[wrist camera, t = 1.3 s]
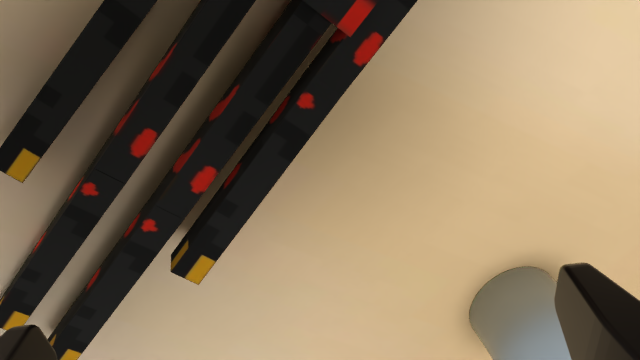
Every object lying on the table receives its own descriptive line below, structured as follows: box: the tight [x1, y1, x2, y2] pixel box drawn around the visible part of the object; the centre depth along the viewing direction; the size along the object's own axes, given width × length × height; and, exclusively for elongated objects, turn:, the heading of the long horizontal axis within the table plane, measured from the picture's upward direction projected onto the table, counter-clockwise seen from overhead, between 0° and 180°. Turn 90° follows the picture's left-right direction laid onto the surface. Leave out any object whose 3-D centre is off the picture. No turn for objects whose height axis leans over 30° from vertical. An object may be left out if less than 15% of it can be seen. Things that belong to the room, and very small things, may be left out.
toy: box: [0, 0, 417, 360], centre depth 19 cm, size 8×5×30 cm
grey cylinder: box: [469, 267, 571, 360], centre depth 27 cm, size 5×5×6 cm
